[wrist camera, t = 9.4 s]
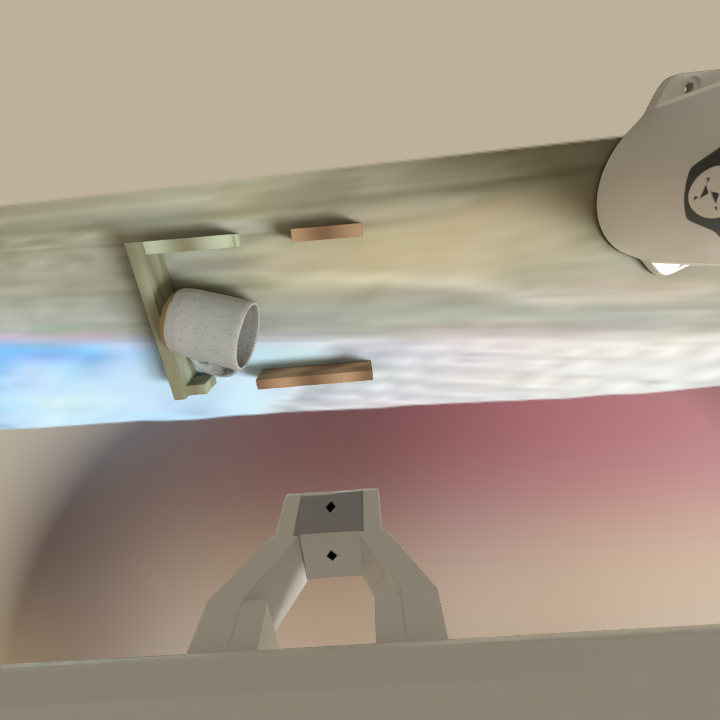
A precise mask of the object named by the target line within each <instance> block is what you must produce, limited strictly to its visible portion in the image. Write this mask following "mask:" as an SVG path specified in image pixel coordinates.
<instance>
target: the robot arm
mask: <svg viewBox="0 0 720 720" xmlns="http://www.w3.org/2000/svg"><path fill="white" fill-rule="evenodd" d="M685 86H686V88H687V90H686V93H685V91H684V88H685ZM597 215H598V220H599V224H600V227H601V230H602V232H603V234H604V235H605V237H606V239H607V240H608V241H609V242H610V243H611V245H612V246H614V247H615V248H616V249H617V250H619V251H621V252H622V253H625V254H627V255H630V256H633V257H636V258H638V259H640V260H641V261H642V262H643V263H644V264H645V266H646V267H647V268H648V269H649V270H650V271H651V272H652V273H653V274H655V275H669V274H672V273H674V272H676V271H678V270H680V269H682V268H684V267H687V266H689V265H704V266H720V69H719V70H709V71H701V72H700V71H699V72H690V73H682V74H677V75H675V76H672V77H669V78H667V79H665V80H664V81H663V82H662V84H661V85H660V86H659V87H658V89H657V90H656V92H655V94H654V96H653V98H652V100H651V102H650V103H649V105H648V108H647V110H646V112H645V113H644V115H643V116H642V117H641V119H640V120H639V121H638V122H637V123H636V124H635V125H634V126H633V127H632V129H631V130H630V131H629V132H628V133H627V134H626V135H625V136H624V137H623V138H622V140H621V141H620V142H619V144H618V145H617V146H616V148H615V149H614V151H613V153H612V154H611V156H610V158H609V160H608V162H607V164H606V166H605V168H604V171H603V173H602V176H601V180H600V183H599V188H598V194H597ZM335 576H336V577H339V576H363V578H364V580H365V581H366V583H367V585H368V586H369V588H370V590H371V591H372V593H373V595H374V596H375V624H376V643H374V644H357V645H340V646H322V647H304V648H286V649H280V648H279V644H278V641H277V637H276V633H275V630H276V629H277V627H278V626H279V624H280V622H281V621H282V620H283V618H284V617H285V615H286V613H287V612H288V610H289V609H290V607H291V606H292V604H293V602H294V601H295V599H296V598H297V596H298V595H299V593H300V592H301V590H302V588H303V587H304V586H305V584H306V582H307V579H315V578H325V577H335ZM0 720H720V624H708V625H691V626H673V627H657V628H637V629H621V630H602V631H584V632H567V633H550V634H531V635H514V636H498V637H497V636H496V637H478V638H462V639H461V638H460V639H448V636H447V631H446V627H445V622H444V617H443V613H442V608H441V604H440V600H439V595H438V590H437V587H436V586H435V585H434V584H433V583H432V582H431V581H430V579H428V577H427V576H426V575H425V574H424V573H423V571H422V570H421V569H420V568H419V567H418V566H417V564H416V563H415V562H414V561H413V560H412V559H411V557H410V556H409V555H408V554H407V553H406V552H405V550H404V549H403V548H402V547H401V546H400V545H399V544H398V542H397V541H396V540H395V539H394V538H393V537H392V535H391V534H390V533H389V532H388V531H387V530H382V523H381V511H380V499H379V490H378V488H371V489H361V490H347V491H334V492H314V493H300V494H287V496H286V497H285V500H284V504H283V508H282V512H281V515H280V519H279V523H278V527H277V531H276V534H275V537H270V538H269V539H268V540H267V541H266V542H265V543H264V544H263V545H262V546H261V547H260V548H259V549H258V550H257V551H256V552H255V553H254V554H253V555H252V556H251V558H249V559H248V560H247V562H246V563H245V564H244V565H243V566H242V567H241V568H240V569H239V570H238V571H237V572H236V573H235V574H234V575H233V576H232V577H231V578H230V579H229V580H228V581H227V582H226V583H225V584H224V585H223V586H222V587H221V588H220V589H219V590H218V591H217V592H216V593H215V594H214V595H213V596H212V597H211V598H210V599H209V600H208V602H207V604H206V607H205V609H204V612H203V614H202V617H201V619H200V622H199V624H198V627H197V629H196V632H195V634H194V637H193V639H192V642H191V644H190V647H189V649H188V652H187V654H181V655H180V654H179V655H161V656H143V657H127V658H108V659H91V660H73V661H56V662H37V663H19V664H2V665H0Z"/></svg>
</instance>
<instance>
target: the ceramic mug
mask: <svg viewBox="0 0 720 720" xmlns="http://www.w3.org/2000/svg"><path fill="white" fill-rule="evenodd" d="M259 324H260V310H259V306H258V304H257V303H256V302H254V301H250V300H245V299H241V298H236V297H232V296H228V295H222V294H217V293H212V292H208V291H204V290H200V289H190V288H184V289H179V290H178V291H176V292H174V293H173V294H172V295H171V296H170V297H169V299H168V300H167V301H166V303H165V305H164V308H163V310H162V313H161V317H160V325H159V329H160V337H161V340H162V342H163V344H164V346H165V347H166V348H167V349H168V350H170V351H172V352H174V353H176V354H178V355H181V356H184V357H188V358H190V359H191V361H192V362H193V364H194V365H195V366H196V367H198V368H199V369H201V370H202V371H204V372H206V373H208V374H211V375H214V376H218V377H230V376H232V375H234V374H235V373H236V372H237V371H238V370H242V369H244V368H245V367H246V365H247V364H248V362H249V360H250V358H251V356H252V353H253V351H254V347H255V344H256V341H257V335H258V331H259Z"/></svg>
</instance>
